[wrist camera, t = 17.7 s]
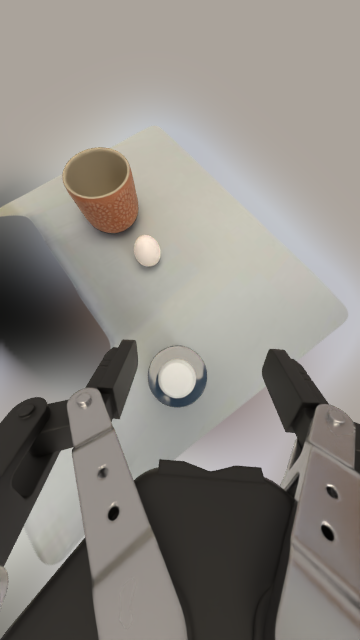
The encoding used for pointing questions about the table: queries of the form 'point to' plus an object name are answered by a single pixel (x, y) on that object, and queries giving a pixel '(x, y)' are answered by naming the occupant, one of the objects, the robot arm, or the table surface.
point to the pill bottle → (177, 378)
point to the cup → (183, 354)
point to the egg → (147, 250)
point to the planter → (102, 188)
